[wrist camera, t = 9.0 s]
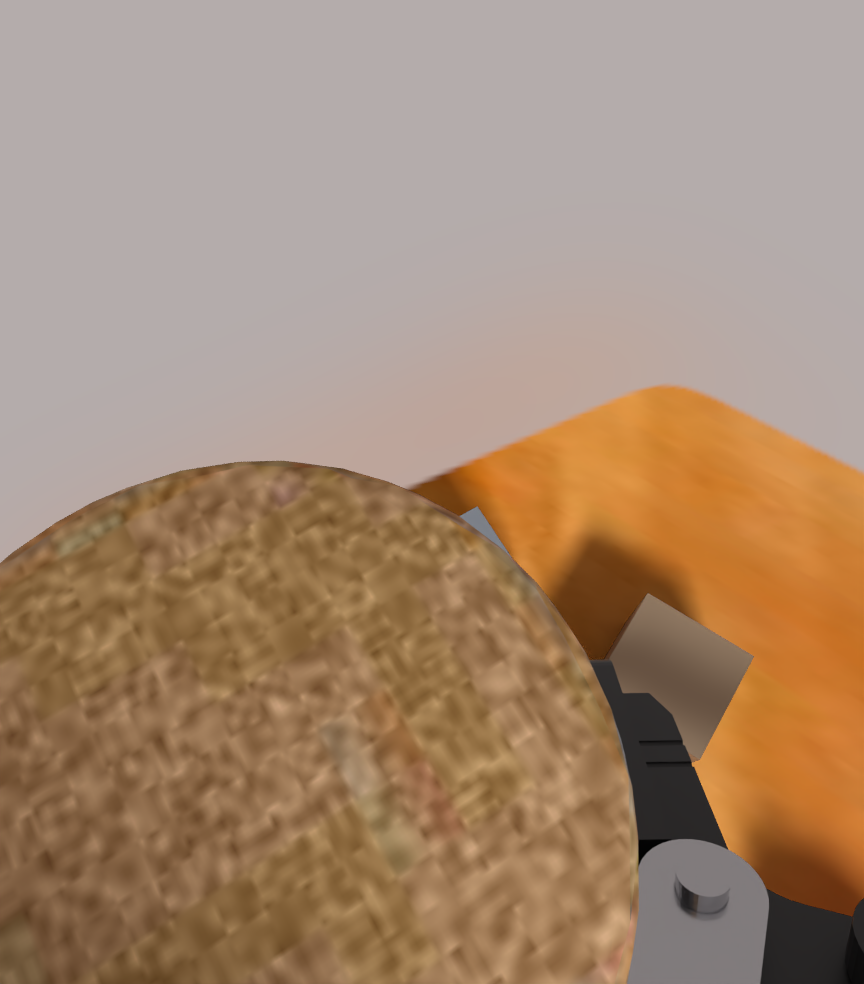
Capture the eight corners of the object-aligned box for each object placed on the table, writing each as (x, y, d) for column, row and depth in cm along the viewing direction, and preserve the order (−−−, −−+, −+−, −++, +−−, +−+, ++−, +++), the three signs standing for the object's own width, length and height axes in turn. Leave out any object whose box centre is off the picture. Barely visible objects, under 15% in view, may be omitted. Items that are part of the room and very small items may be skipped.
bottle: (256, 739, 19) (-247, 480, 6) (495, 683, 20) (574, 310, 6) (293, 1022, 17) (-407, 1762, 3) (563, 953, 17) (954, 1363, 4)
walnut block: (626, 621, 40) (647, 592, 35) (719, 678, 39) (753, 656, 34) (574, 707, 38) (590, 689, 34) (669, 770, 37) (699, 759, 33)
